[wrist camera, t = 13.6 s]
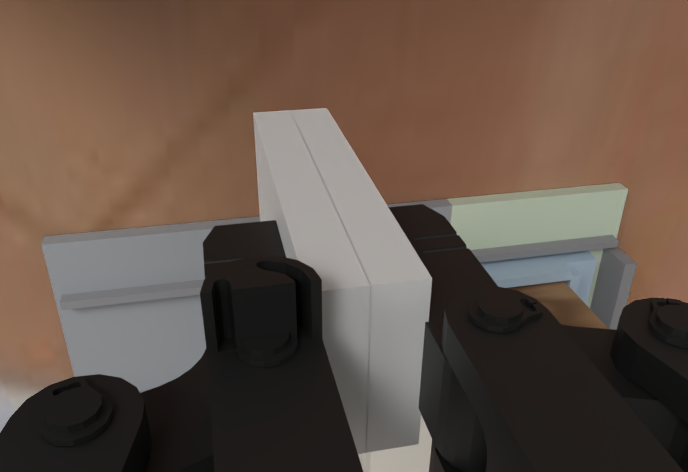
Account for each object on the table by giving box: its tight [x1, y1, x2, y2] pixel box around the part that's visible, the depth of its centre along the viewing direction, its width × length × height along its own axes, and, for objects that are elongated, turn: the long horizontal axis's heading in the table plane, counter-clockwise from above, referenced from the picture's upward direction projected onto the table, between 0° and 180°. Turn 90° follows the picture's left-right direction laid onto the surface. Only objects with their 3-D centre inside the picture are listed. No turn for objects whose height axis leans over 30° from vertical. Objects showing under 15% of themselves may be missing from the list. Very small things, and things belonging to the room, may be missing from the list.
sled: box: [481, 251, 597, 305], centre depth 50 cm, size 26×8×6 cm, turn 90°
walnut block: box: [507, 281, 608, 329], centre depth 49 cm, size 6×6×7 cm
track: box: [42, 183, 637, 472], centre depth 47 cm, size 43×18×13 cm, turn 90°
